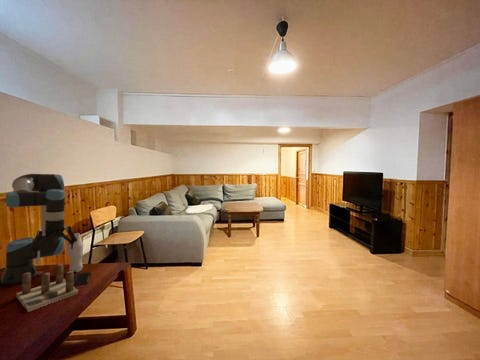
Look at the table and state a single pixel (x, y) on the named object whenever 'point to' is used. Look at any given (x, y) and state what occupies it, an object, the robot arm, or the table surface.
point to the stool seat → (64, 288)
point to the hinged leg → (47, 286)
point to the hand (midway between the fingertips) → (53, 259)
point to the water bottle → (76, 254)
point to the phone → (82, 278)
